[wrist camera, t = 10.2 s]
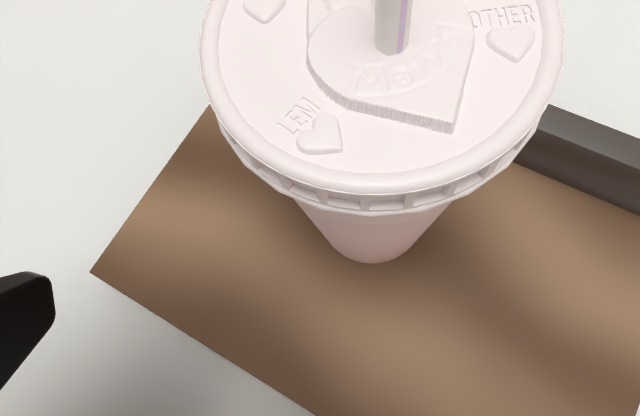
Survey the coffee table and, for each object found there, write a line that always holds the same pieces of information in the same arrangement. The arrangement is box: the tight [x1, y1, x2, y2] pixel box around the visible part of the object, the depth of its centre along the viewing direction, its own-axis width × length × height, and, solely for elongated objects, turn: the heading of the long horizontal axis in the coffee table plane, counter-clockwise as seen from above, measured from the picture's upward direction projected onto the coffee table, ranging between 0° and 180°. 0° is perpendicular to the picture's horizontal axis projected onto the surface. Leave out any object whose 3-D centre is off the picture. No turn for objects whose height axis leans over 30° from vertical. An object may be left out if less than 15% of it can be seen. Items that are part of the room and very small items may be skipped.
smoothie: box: [199, 0, 565, 264], centre depth 11 cm, size 6×6×14 cm
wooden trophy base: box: [90, 104, 640, 416], centre depth 16 cm, size 12×18×4 cm
